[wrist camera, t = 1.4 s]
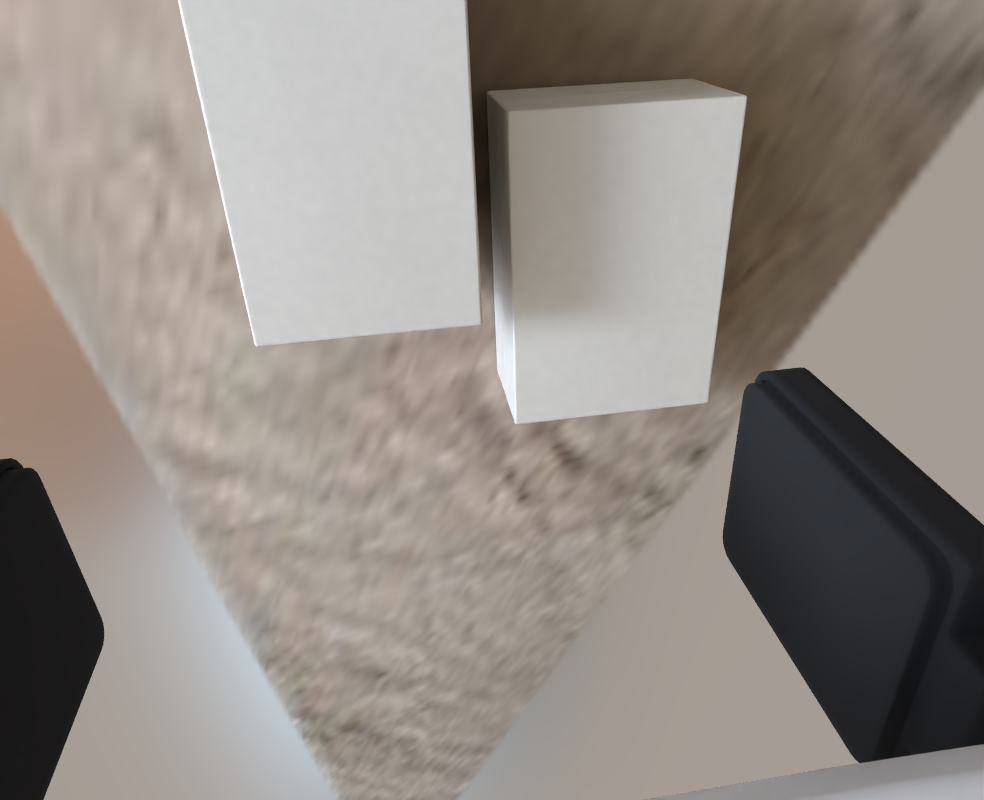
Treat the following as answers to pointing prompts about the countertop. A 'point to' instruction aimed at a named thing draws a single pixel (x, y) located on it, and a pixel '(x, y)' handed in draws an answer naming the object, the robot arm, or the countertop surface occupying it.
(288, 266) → the white book
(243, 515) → the countertop surface
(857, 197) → the countertop surface
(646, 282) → the white books
